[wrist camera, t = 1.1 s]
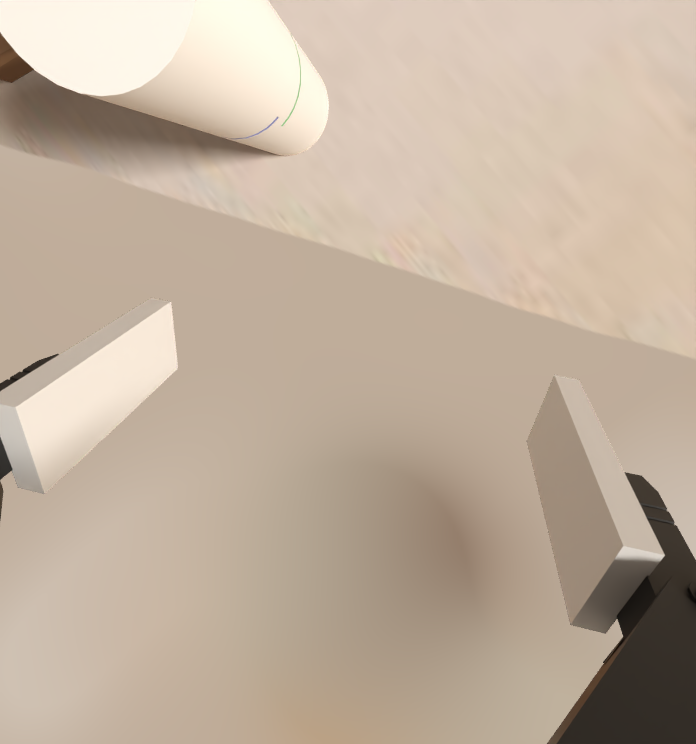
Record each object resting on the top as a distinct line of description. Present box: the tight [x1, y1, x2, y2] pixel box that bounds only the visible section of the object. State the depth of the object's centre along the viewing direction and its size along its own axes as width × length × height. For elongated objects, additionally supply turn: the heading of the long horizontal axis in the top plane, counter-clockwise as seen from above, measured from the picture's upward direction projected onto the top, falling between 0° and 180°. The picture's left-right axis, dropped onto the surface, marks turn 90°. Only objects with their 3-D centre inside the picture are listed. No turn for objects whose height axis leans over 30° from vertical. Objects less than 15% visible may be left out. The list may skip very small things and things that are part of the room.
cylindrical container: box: [0, 0, 329, 156], centre depth 25 cm, size 7×7×25 cm
